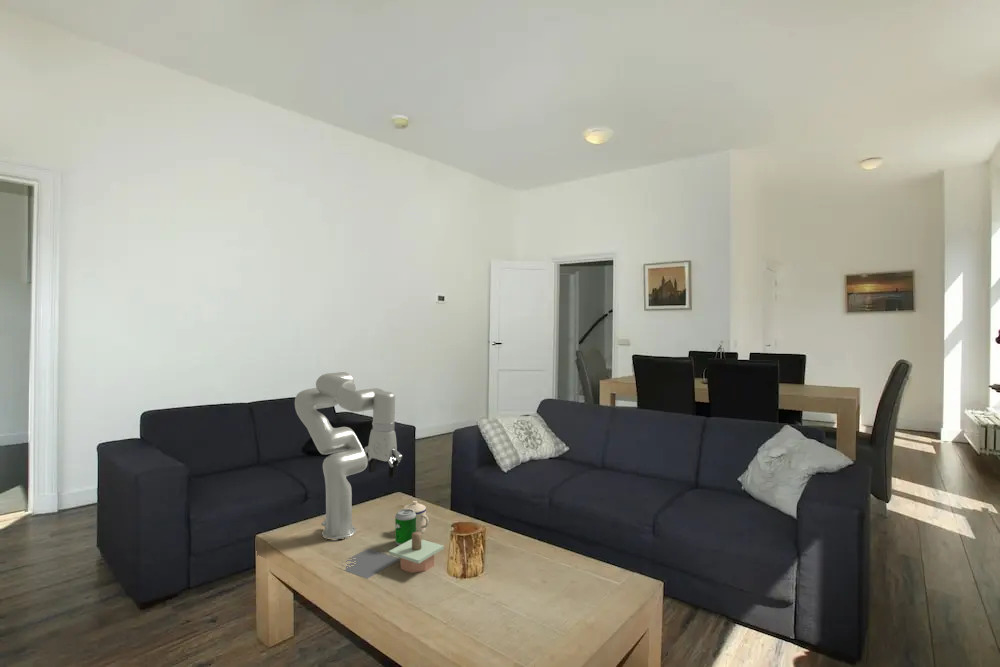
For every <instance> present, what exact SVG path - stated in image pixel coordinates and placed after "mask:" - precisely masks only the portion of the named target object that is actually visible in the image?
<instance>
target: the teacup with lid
mask: <svg viewBox="0 0 1000 667" xmlns="http://www.w3.org/2000/svg"><path fill="white" fill-rule="evenodd" d="M404 509H410V510H413V511H414V512H415V513H416V532H421V534H423V533H425V531H426V530H427V529H426V528H427V527H429V524H430V520H429V519H430V518H429V516H428V515H427V514H426V513H427V512H426V511H427V506H426V505H425V504H421V503H419V502H418V501H417V500H413V501H411V503H410V504H407V505H405V506H404V507H403V508H402V510H404Z"/></svg>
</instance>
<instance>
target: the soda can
mask: <svg viewBox="0 0 1000 667" xmlns="http://www.w3.org/2000/svg"><path fill="white" fill-rule="evenodd" d="M394 524H395V529H394V530H395V544H396V545H398V546H399V545H401V544H403V543H405V542H407V541H409V540H411V539H412V533H413V532H416V513H415V512H414V511H413V510H410V509H404V510H403V509H401V510H398V511H397V513H395V520H394Z"/></svg>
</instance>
